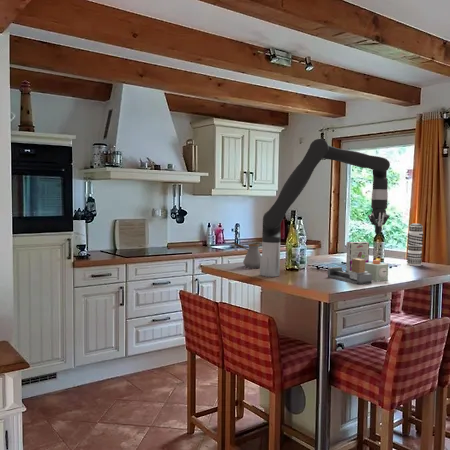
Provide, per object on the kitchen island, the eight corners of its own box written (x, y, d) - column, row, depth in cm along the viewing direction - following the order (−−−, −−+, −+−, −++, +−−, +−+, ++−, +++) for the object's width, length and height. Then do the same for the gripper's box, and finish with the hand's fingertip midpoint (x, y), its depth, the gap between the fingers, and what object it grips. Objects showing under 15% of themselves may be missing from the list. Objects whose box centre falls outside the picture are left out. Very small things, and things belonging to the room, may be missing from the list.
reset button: (376, 269, 234) (376, 261, 234) (371, 268, 237) (371, 260, 237) (381, 268, 236) (381, 260, 235) (376, 267, 239) (376, 259, 238)
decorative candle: (418, 263, 293) (420, 223, 291) (424, 266, 284) (426, 224, 282) (403, 263, 293) (405, 223, 291) (409, 265, 284) (411, 224, 282)
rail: (359, 284, 222) (359, 275, 221) (327, 276, 241) (328, 267, 241) (371, 283, 226) (372, 273, 225) (339, 275, 245) (340, 266, 245)
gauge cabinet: (376, 281, 231) (377, 265, 230) (363, 278, 238) (364, 262, 238) (388, 280, 235) (389, 264, 234) (375, 277, 242) (376, 261, 241)
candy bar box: (364, 271, 261) (365, 241, 260) (368, 272, 256) (369, 242, 255) (345, 271, 259) (346, 241, 258) (349, 273, 254) (350, 242, 253)
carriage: (357, 280, 224) (357, 260, 223) (348, 278, 229) (348, 258, 228) (367, 279, 227) (368, 259, 226) (358, 277, 232) (359, 257, 232)
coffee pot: (254, 265, 275) (254, 239, 274) (267, 267, 266) (268, 241, 265) (225, 268, 262) (225, 241, 261) (238, 271, 253) (238, 243, 252)
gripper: (383, 198, 240) (381, 232, 241) (364, 198, 234) (362, 233, 235) (394, 199, 234) (393, 234, 235) (375, 198, 227) (373, 234, 228)
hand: (377, 233), depth 235 cm, fingers closed
